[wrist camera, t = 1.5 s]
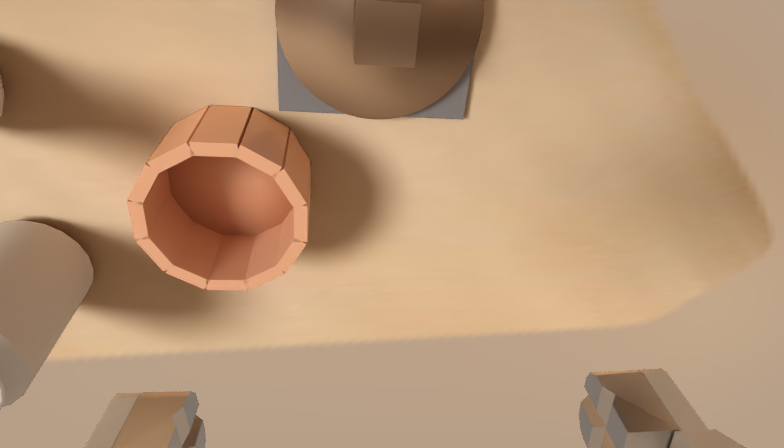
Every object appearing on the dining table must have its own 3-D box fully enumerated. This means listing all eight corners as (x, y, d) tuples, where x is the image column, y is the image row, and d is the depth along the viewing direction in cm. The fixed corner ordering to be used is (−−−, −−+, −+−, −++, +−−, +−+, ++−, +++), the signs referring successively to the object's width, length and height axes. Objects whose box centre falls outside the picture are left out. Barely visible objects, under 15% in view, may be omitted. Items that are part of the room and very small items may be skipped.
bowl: (148, 102, 33) (114, 138, 28) (311, 110, 34) (307, 146, 29) (169, 237, 38) (144, 289, 33) (310, 240, 39) (307, 290, 34)
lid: (273, -114, 27) (263, -116, 23) (497, -91, 29) (524, -89, 25) (278, 110, 33) (271, 139, 29) (463, 119, 35) (480, 147, 31)
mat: (273, -113, 28) (273, -113, 27) (495, -91, 29) (496, -91, 29) (279, 108, 34) (278, 110, 33) (461, 117, 35) (463, 119, 35)
